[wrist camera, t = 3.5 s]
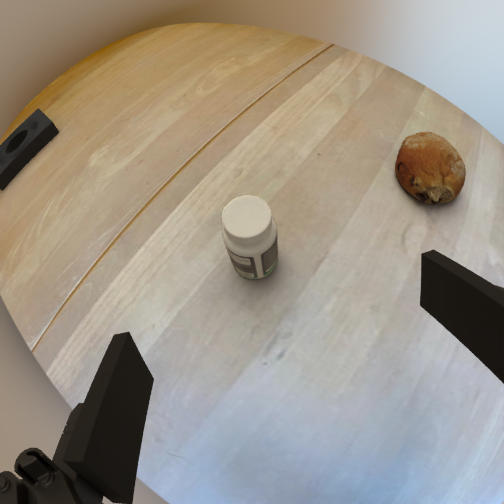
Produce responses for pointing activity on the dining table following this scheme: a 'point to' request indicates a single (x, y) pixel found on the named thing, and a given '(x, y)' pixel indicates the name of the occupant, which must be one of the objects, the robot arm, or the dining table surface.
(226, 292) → the dining table surface
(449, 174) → the bread roll
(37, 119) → the black rectangular holder
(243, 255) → the pill bottle
